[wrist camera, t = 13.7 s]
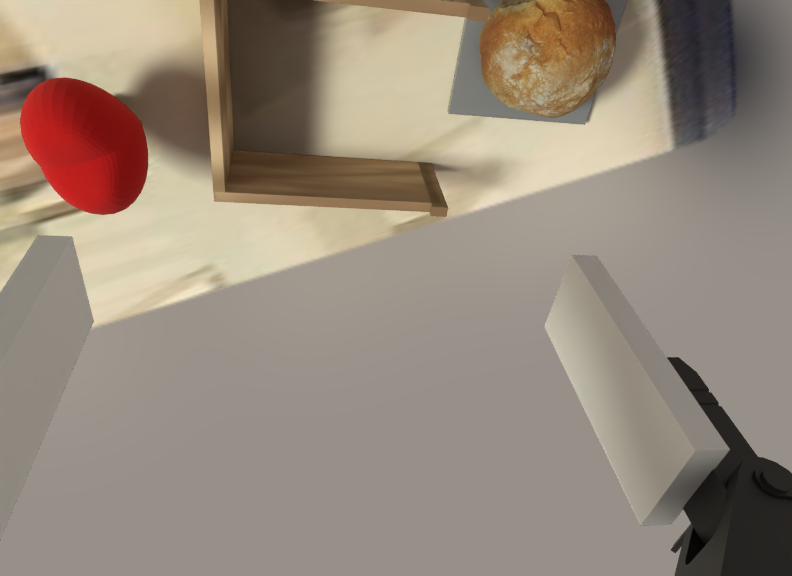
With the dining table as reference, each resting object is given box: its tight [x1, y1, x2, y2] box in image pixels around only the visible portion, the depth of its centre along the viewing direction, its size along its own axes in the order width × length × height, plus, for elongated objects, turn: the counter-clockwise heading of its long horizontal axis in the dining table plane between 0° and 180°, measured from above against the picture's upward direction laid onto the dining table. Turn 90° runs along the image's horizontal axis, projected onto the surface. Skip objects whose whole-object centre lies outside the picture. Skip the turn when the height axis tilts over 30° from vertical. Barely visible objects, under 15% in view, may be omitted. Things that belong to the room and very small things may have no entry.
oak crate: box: [200, 0, 490, 217], centre depth 41 cm, size 15×17×8 cm
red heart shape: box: [20, 78, 148, 215], centre depth 40 cm, size 9×7×10 cm
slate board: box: [448, 0, 627, 125], centre depth 44 cm, size 12×12×1 cm
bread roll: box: [478, 0, 616, 118], centre depth 43 cm, size 10×10×8 cm
